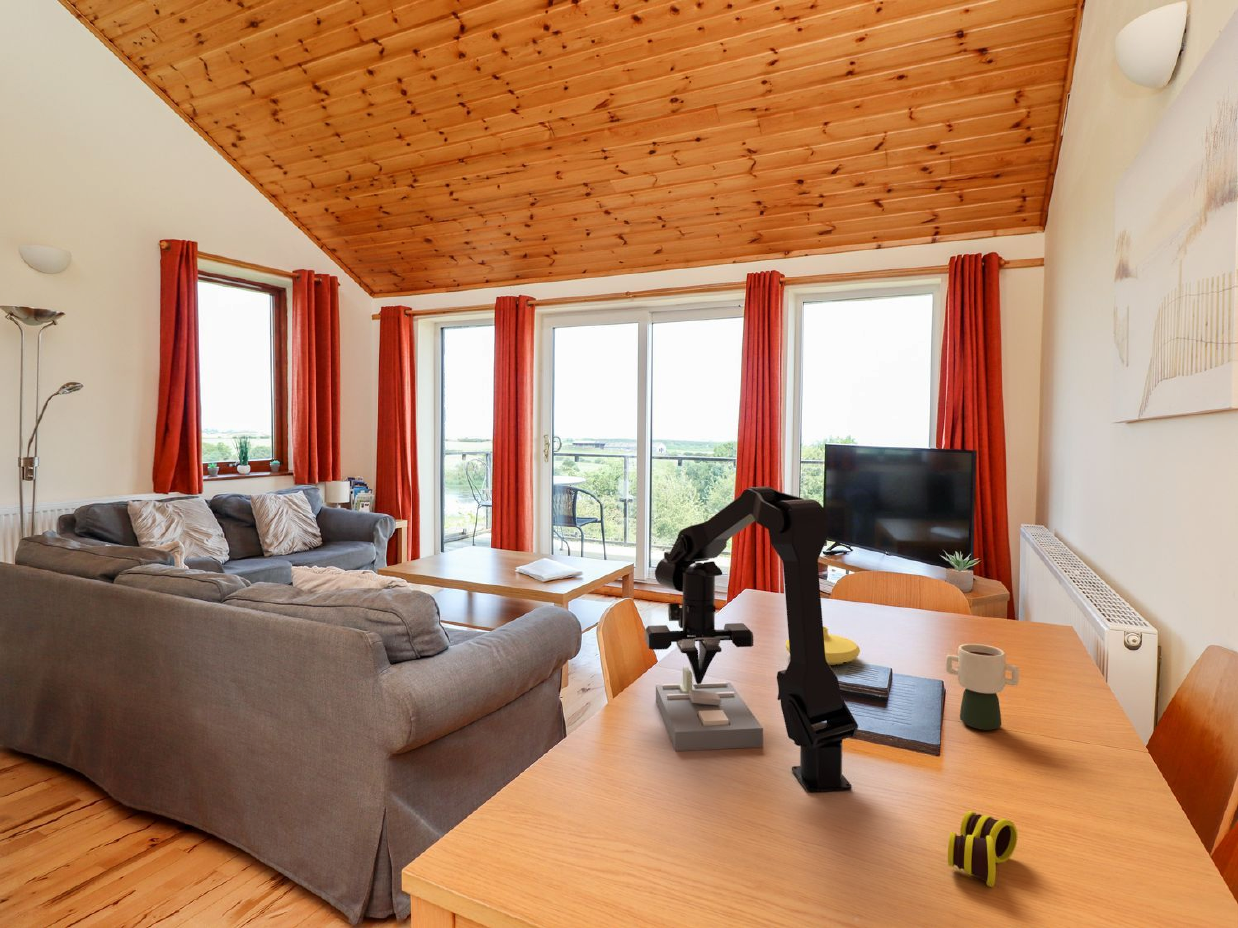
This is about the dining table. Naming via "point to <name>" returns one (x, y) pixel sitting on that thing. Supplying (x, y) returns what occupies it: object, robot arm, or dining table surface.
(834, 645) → the yellow flattened dome
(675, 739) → the console
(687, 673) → the slide paddle
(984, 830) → the opera glasses
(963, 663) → the character mug
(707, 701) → the pale grey slab
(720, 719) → the push button
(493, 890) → the dining table surface
